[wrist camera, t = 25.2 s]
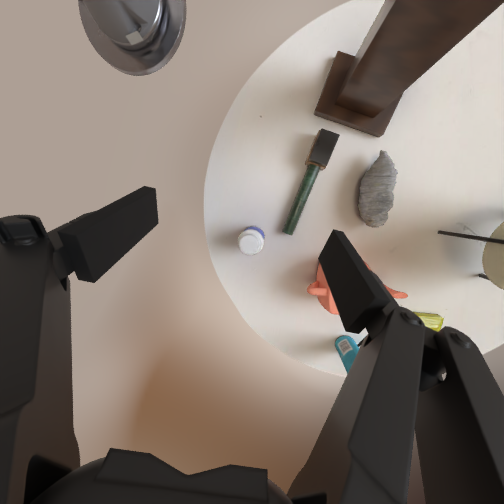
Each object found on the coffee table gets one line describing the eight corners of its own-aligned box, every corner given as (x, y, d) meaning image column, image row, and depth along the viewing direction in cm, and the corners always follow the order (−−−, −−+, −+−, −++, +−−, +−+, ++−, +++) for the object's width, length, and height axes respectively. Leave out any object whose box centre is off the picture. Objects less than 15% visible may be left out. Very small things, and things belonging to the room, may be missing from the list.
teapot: (302, 255, 45) (310, 269, 35) (383, 254, 43) (416, 269, 33) (301, 298, 48) (308, 323, 38) (377, 300, 46) (406, 326, 36)
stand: (313, 114, 38) (438, -177, 9) (335, 56, 36) (604, -599, 7) (379, 137, 38) (724, -91, 9) (406, 80, 35) (1016, -503, 6)
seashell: (403, 148, 35) (419, 156, 29) (379, 215, 43) (388, 232, 37) (366, 149, 37) (373, 156, 31) (349, 213, 45) (352, 229, 39)
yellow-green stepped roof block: (446, 309, 44) (457, 316, 41) (435, 342, 46) (445, 351, 44) (401, 305, 45) (409, 311, 42) (392, 337, 47) (399, 345, 45)
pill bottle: (242, 226, 45) (233, 231, 36) (264, 225, 44) (262, 230, 35) (243, 248, 46) (235, 259, 37) (265, 247, 46) (263, 258, 36)
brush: (294, 235, 44) (296, 238, 40) (278, 229, 44) (279, 231, 40) (334, 141, 39) (341, 133, 35) (316, 134, 39) (321, 126, 35)
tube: (347, 357, 50) (391, 445, 32) (330, 351, 50) (363, 435, 32) (360, 334, 48) (414, 414, 30) (341, 328, 48) (384, 404, 30)
